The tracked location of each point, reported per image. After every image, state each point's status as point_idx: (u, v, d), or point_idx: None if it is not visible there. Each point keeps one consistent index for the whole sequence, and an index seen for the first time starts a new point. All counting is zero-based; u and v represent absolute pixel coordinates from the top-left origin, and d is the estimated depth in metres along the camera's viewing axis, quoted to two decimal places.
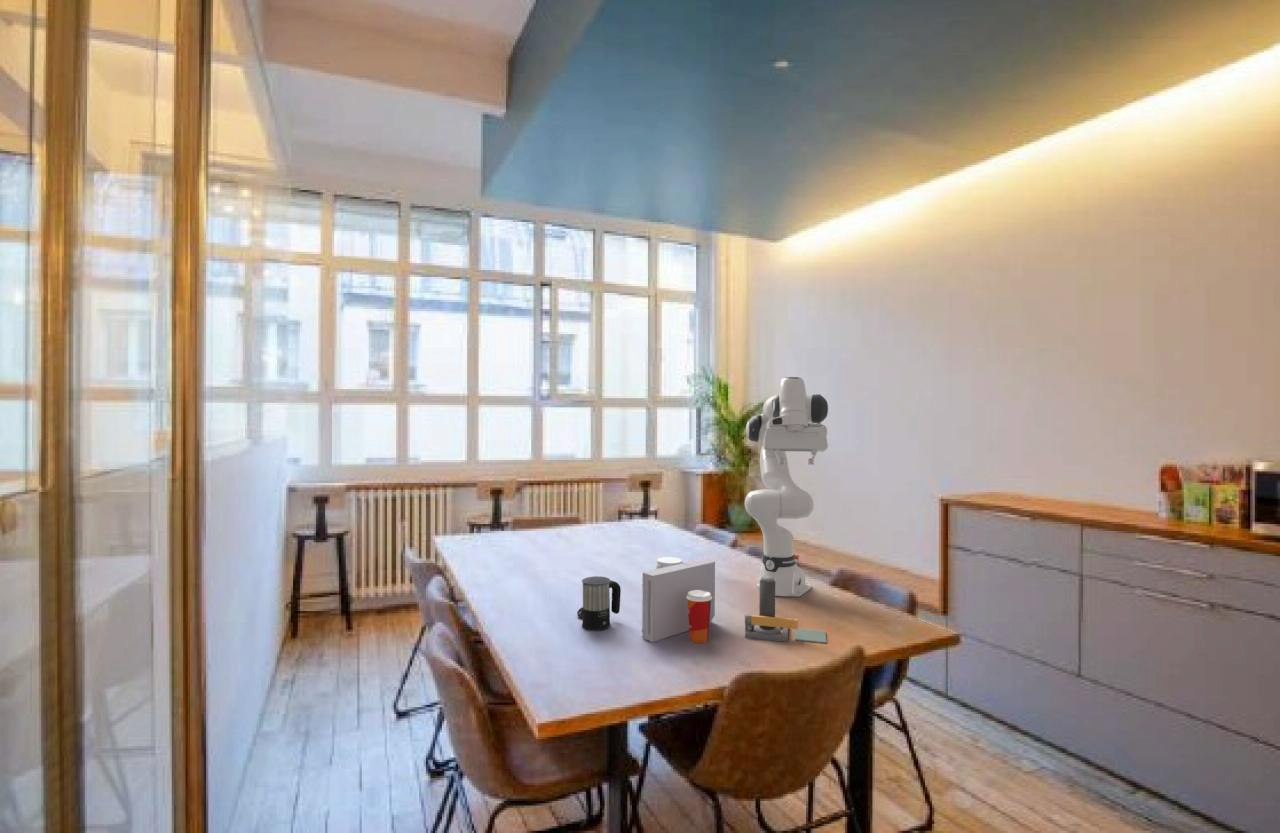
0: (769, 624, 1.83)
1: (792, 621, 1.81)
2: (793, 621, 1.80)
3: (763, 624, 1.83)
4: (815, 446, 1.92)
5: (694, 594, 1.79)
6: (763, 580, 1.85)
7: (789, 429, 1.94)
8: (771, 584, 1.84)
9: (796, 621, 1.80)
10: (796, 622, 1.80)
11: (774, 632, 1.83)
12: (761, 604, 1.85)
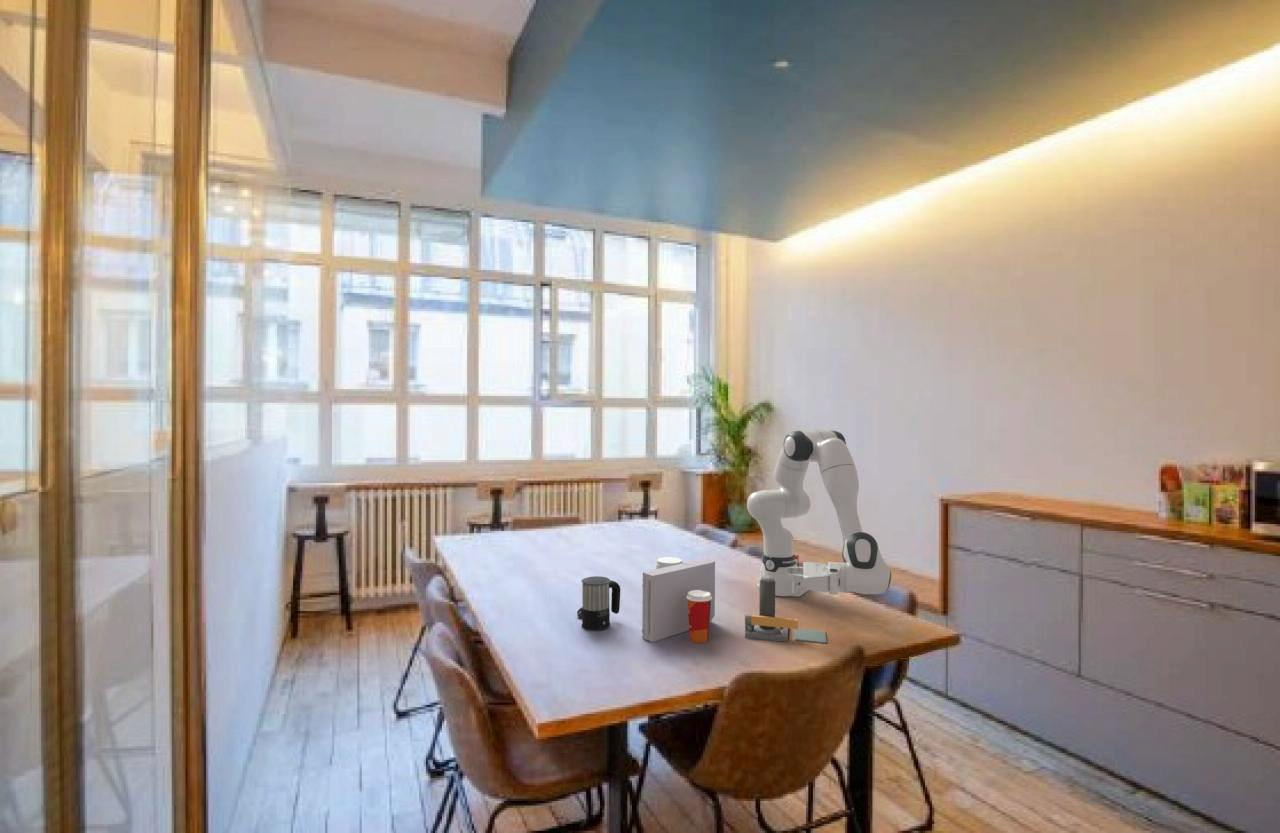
0: (769, 624, 1.83)
1: (792, 621, 1.81)
2: (793, 621, 1.80)
3: (763, 624, 1.83)
4: None
5: (694, 594, 1.79)
6: (763, 580, 1.85)
7: None
8: (771, 584, 1.84)
9: (796, 621, 1.80)
10: (796, 622, 1.80)
11: (774, 632, 1.83)
12: (761, 604, 1.85)
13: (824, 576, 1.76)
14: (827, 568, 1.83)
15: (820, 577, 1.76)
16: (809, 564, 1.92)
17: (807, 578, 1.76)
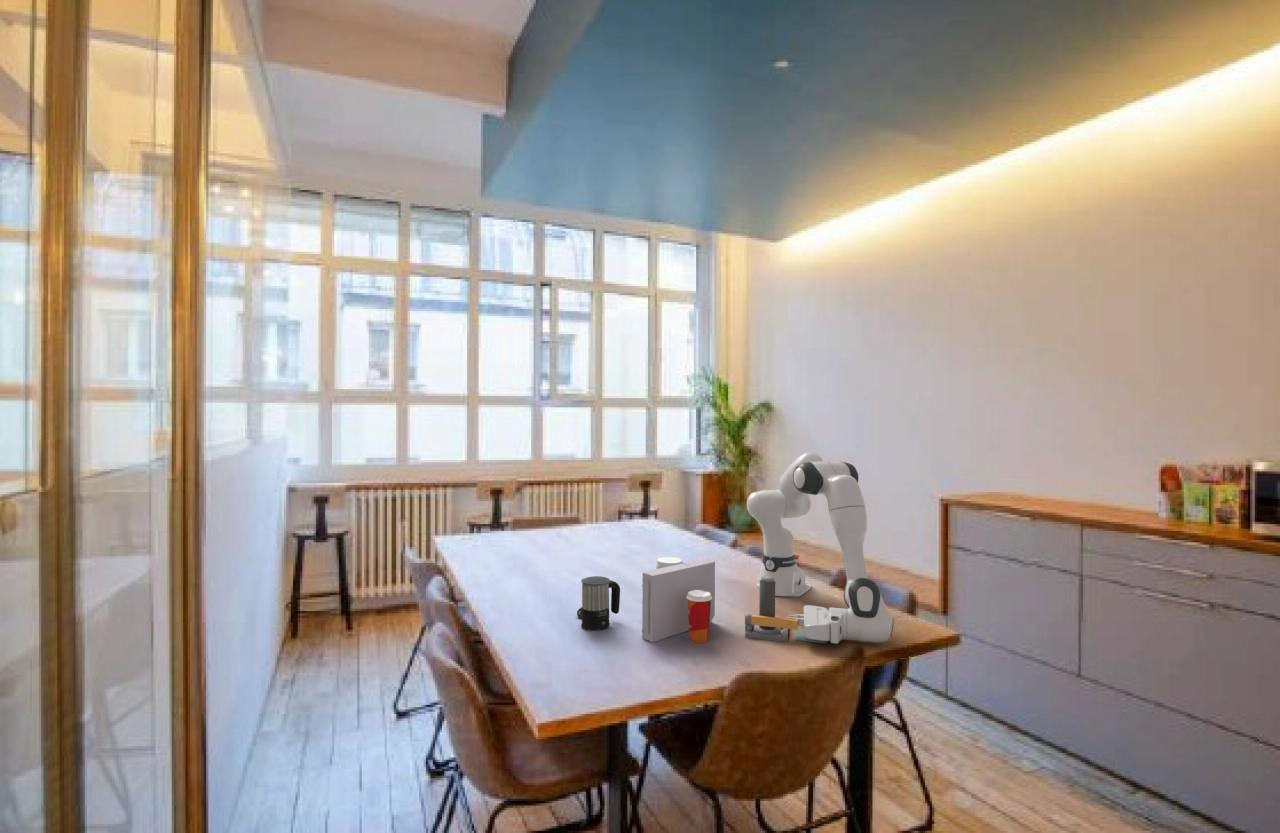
0: (769, 624, 1.82)
1: (792, 621, 1.80)
2: (793, 621, 1.80)
3: (763, 624, 1.83)
4: None
5: (694, 594, 1.79)
6: (763, 580, 1.85)
7: None
8: (771, 584, 1.84)
9: (796, 621, 1.80)
10: (796, 622, 1.80)
11: (774, 632, 1.83)
12: (761, 604, 1.85)
13: (825, 625, 1.72)
14: (828, 615, 1.79)
15: (821, 626, 1.72)
16: (810, 608, 1.88)
17: (808, 627, 1.73)
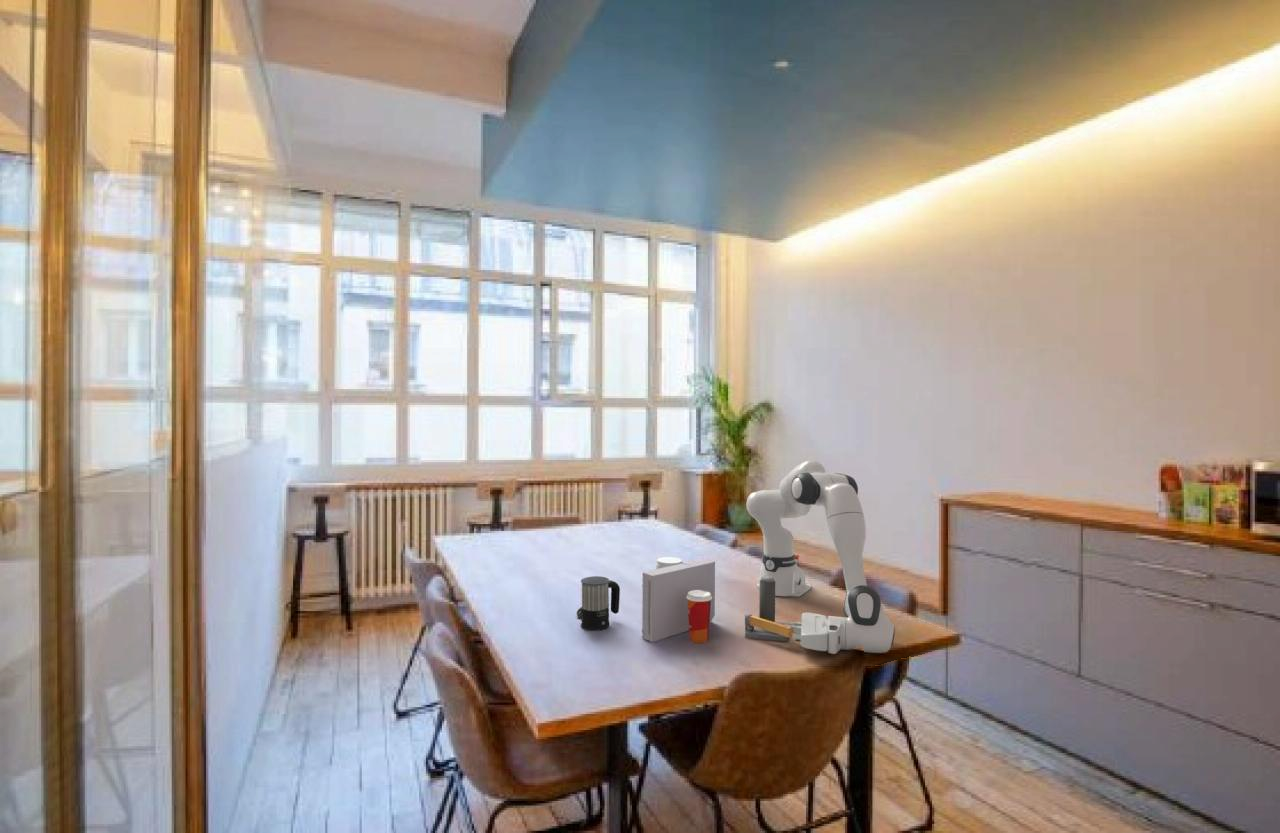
0: (764, 627, 1.80)
1: (784, 628, 1.75)
2: (784, 628, 1.74)
3: (759, 626, 1.81)
4: None
5: (694, 594, 1.79)
6: (763, 580, 1.85)
7: None
8: (771, 584, 1.84)
9: (787, 629, 1.74)
10: (787, 630, 1.74)
11: None
12: (761, 604, 1.85)
13: (823, 634, 1.66)
14: (827, 623, 1.73)
15: (818, 635, 1.66)
16: (808, 616, 1.81)
17: (805, 636, 1.66)
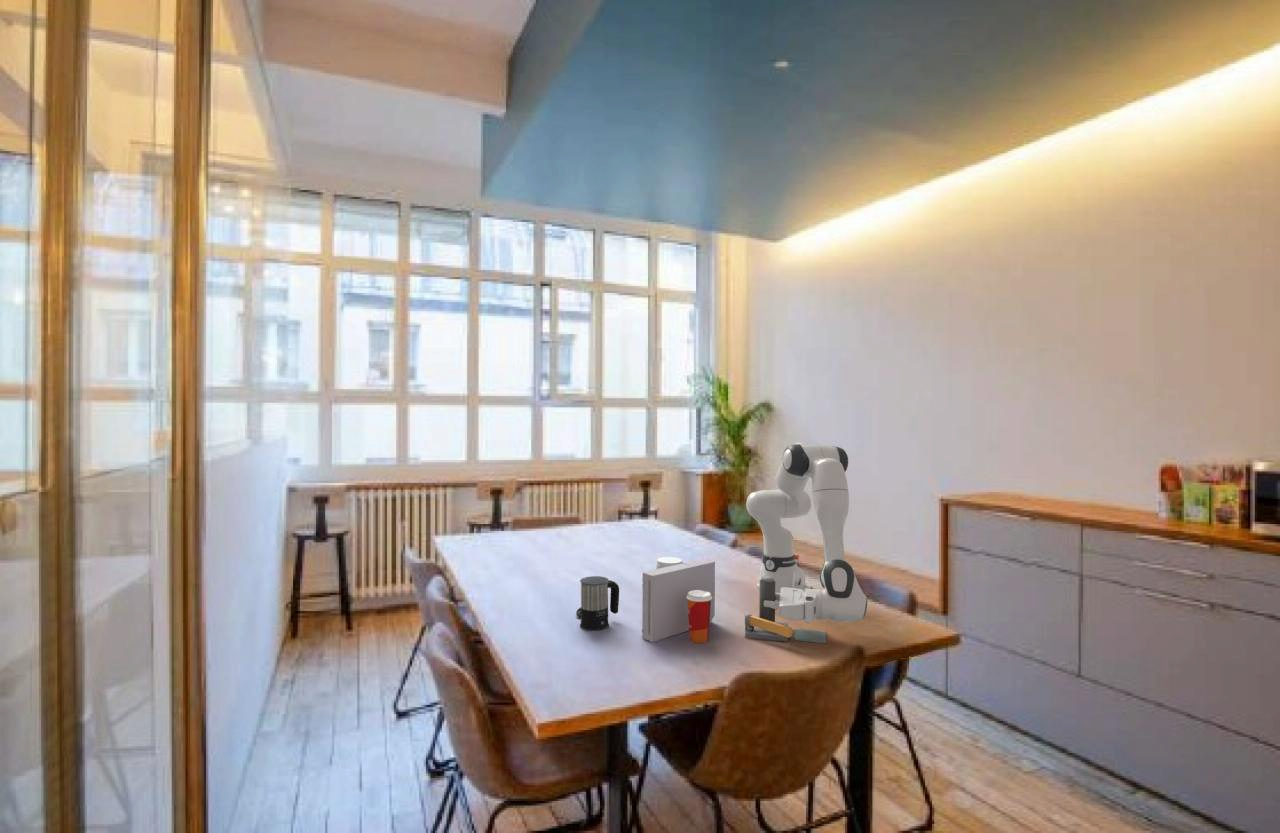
0: (764, 627, 1.80)
1: (783, 628, 1.75)
2: (784, 628, 1.74)
3: (759, 626, 1.81)
4: None
5: (694, 594, 1.79)
6: (763, 580, 1.85)
7: None
8: (771, 584, 1.84)
9: (787, 629, 1.74)
10: (787, 630, 1.74)
11: None
12: (761, 604, 1.85)
13: (799, 604, 1.75)
14: (803, 595, 1.82)
15: (795, 606, 1.75)
16: (786, 590, 1.91)
17: (782, 606, 1.76)
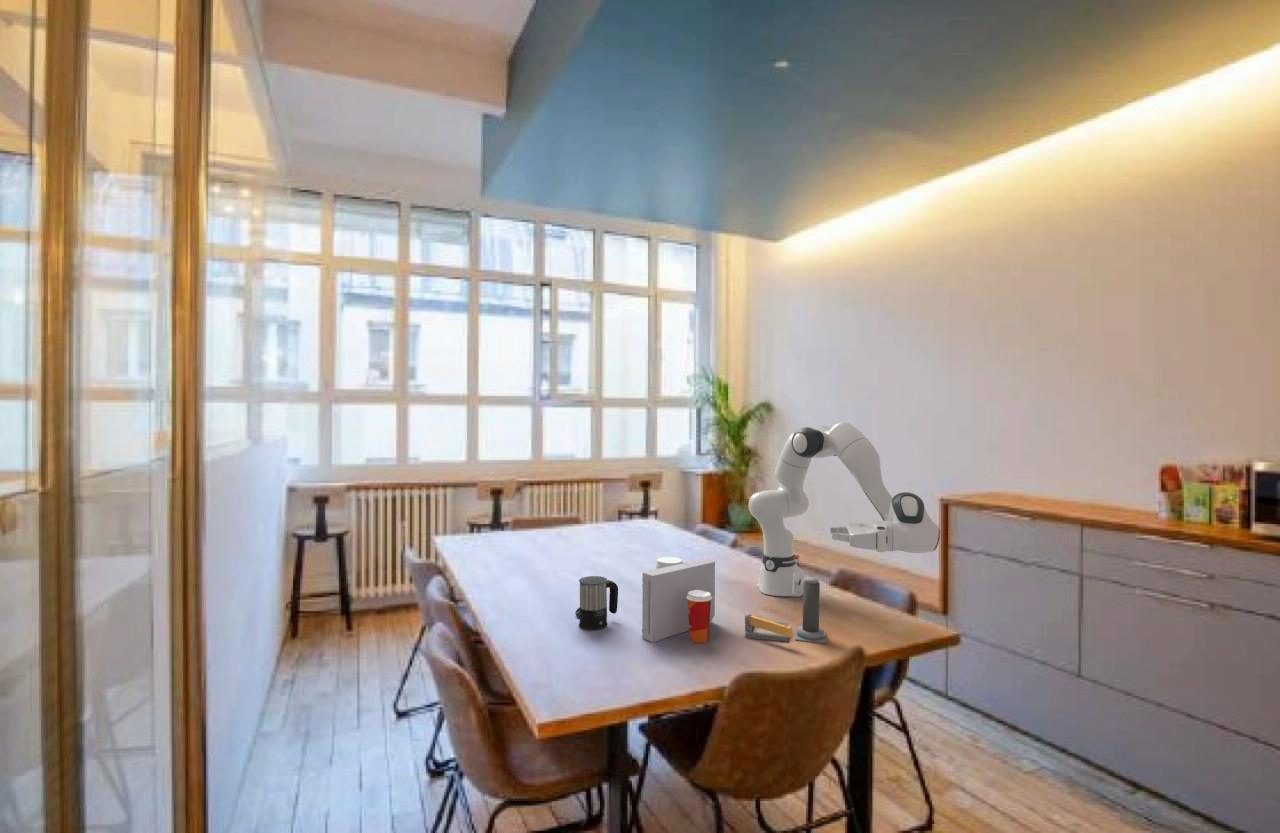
0: (764, 627, 1.80)
1: (783, 628, 1.75)
2: (784, 628, 1.74)
3: (759, 626, 1.81)
4: None
5: (694, 594, 1.79)
6: (807, 581, 1.82)
7: None
8: (816, 586, 1.81)
9: (787, 629, 1.74)
10: (787, 630, 1.74)
11: (819, 635, 1.80)
12: (805, 606, 1.82)
13: (872, 533, 1.70)
14: (873, 527, 1.77)
15: (868, 534, 1.70)
16: (852, 524, 1.86)
17: (854, 535, 1.71)
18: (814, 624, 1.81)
